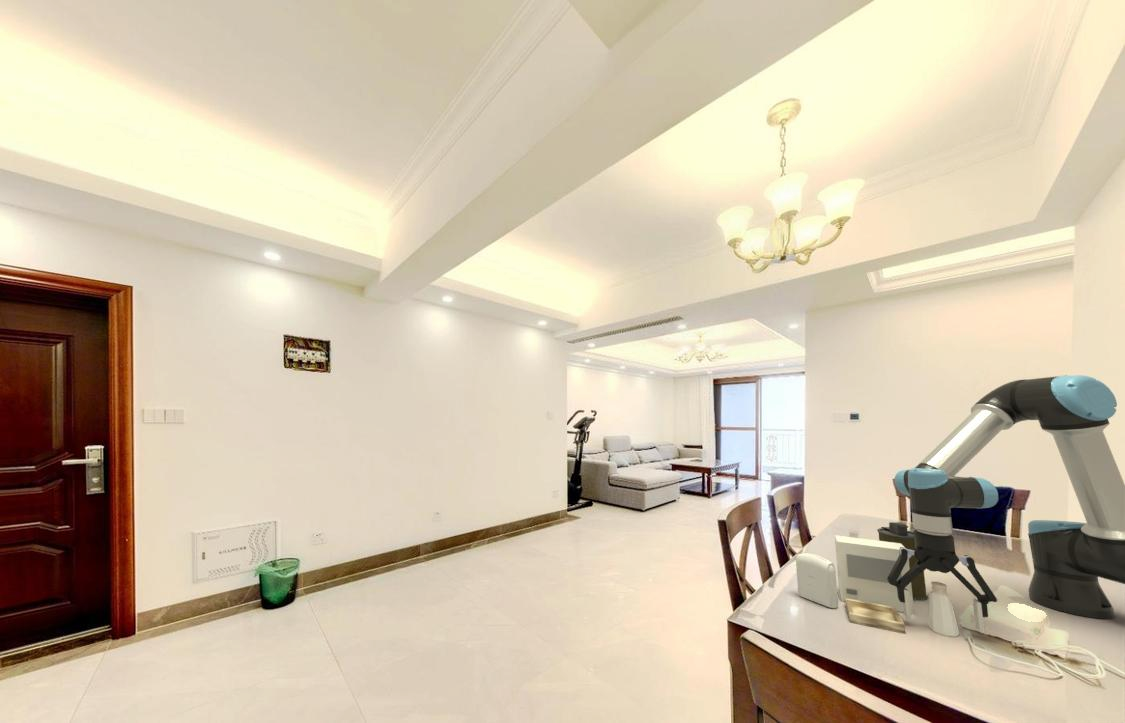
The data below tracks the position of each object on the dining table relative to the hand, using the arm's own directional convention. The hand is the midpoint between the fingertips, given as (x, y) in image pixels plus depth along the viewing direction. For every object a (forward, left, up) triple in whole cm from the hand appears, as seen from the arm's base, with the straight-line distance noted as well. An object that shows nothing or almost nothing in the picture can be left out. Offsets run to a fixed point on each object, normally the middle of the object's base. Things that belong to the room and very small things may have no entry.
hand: (942, 623), depth 100 cm
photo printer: (+26, -4, -2) cm, 26 cm away
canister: (+3, -25, -2) cm, 25 cm away
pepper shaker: (0, 0, -2) cm, 2 cm away
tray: (+14, +1, -2) cm, 14 cm away
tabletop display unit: (+12, -12, -2) cm, 17 cm away
